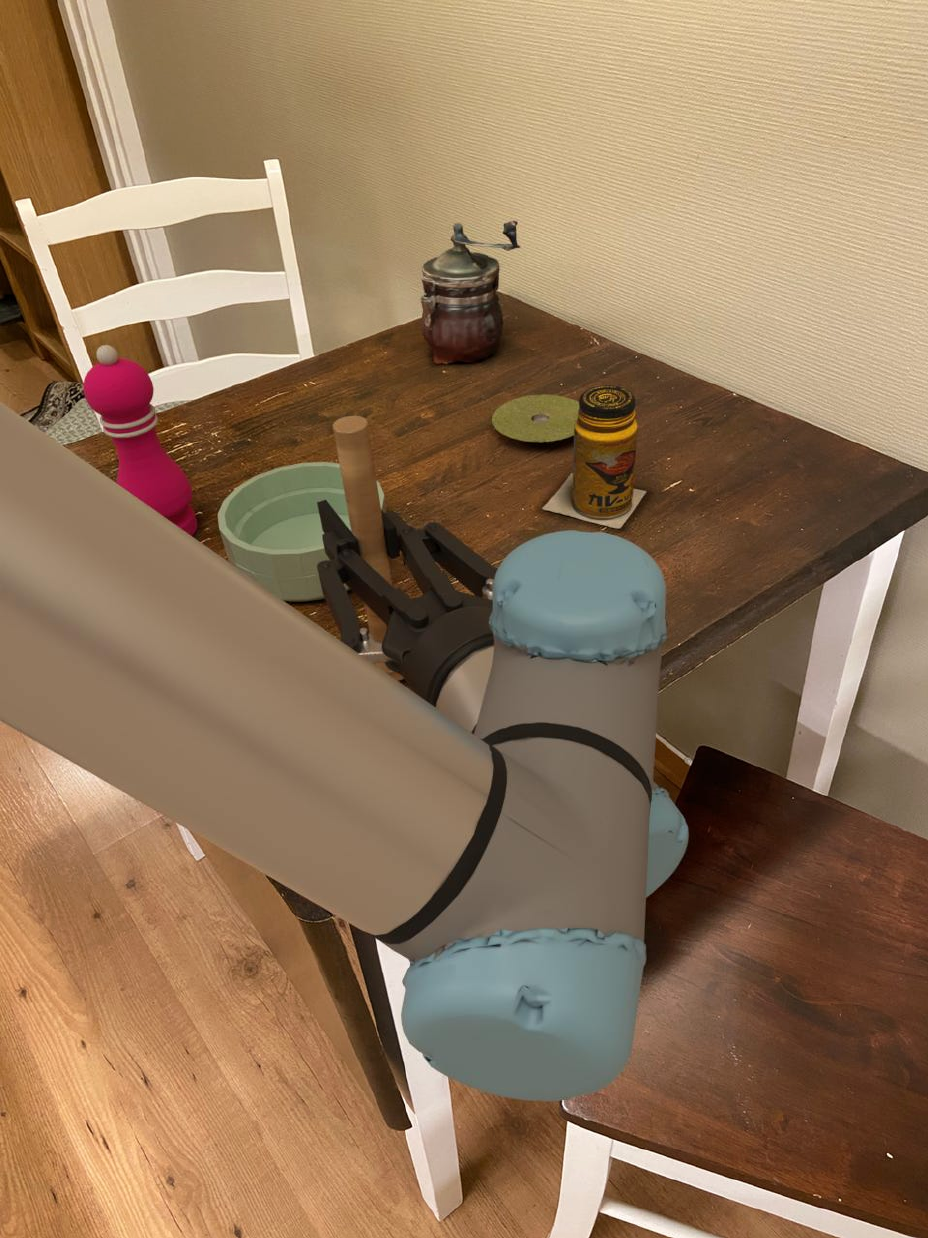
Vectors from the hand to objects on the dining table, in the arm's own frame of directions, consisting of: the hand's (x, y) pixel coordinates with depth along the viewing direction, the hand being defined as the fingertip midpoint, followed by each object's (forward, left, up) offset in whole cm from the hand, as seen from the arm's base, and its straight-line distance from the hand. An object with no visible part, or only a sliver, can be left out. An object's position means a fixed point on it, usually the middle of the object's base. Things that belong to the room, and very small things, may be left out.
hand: (342, 509), depth 70 cm
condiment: (+22, +18, -12) cm, 31 cm away
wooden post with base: (+3, -5, -12) cm, 13 cm away
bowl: (-6, +10, -12) cm, 17 cm away
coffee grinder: (+9, +55, -12) cm, 57 cm away
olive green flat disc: (+17, +33, -12) cm, 39 cm away
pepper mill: (-22, +15, -12) cm, 30 cm away
